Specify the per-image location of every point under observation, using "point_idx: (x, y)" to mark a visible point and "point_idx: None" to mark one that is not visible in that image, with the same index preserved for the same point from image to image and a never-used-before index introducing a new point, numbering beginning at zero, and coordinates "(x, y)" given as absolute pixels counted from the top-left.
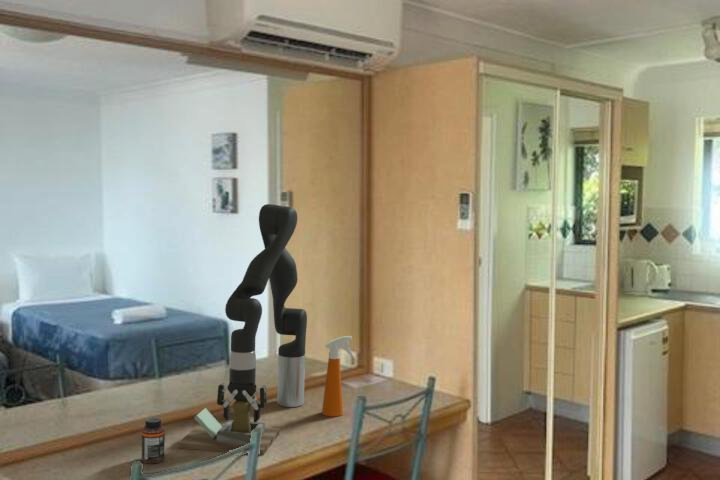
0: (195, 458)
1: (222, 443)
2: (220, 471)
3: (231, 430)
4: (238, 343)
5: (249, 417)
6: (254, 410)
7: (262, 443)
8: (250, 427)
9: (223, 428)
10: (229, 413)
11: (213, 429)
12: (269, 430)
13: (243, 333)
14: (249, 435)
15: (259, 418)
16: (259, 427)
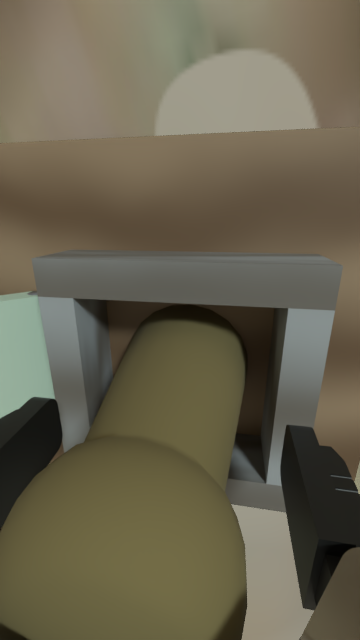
0: None
1: None
2: None
3: (99, 303)
4: None
5: (229, 448)
6: (309, 600)
7: (330, 433)
8: (240, 396)
9: (74, 425)
10: (30, 434)
11: (21, 404)
12: (351, 197)
13: None
14: (265, 506)
15: (334, 452)
16: (310, 384)
